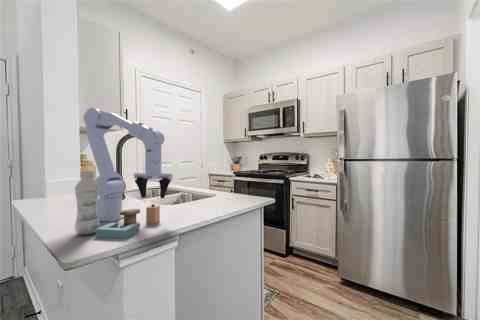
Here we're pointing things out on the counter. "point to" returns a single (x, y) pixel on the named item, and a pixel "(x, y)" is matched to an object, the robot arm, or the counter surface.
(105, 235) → the notch board
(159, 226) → the counter surface
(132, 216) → the bobbin
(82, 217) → the plastic bottle
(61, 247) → the counter surface
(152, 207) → the plug
